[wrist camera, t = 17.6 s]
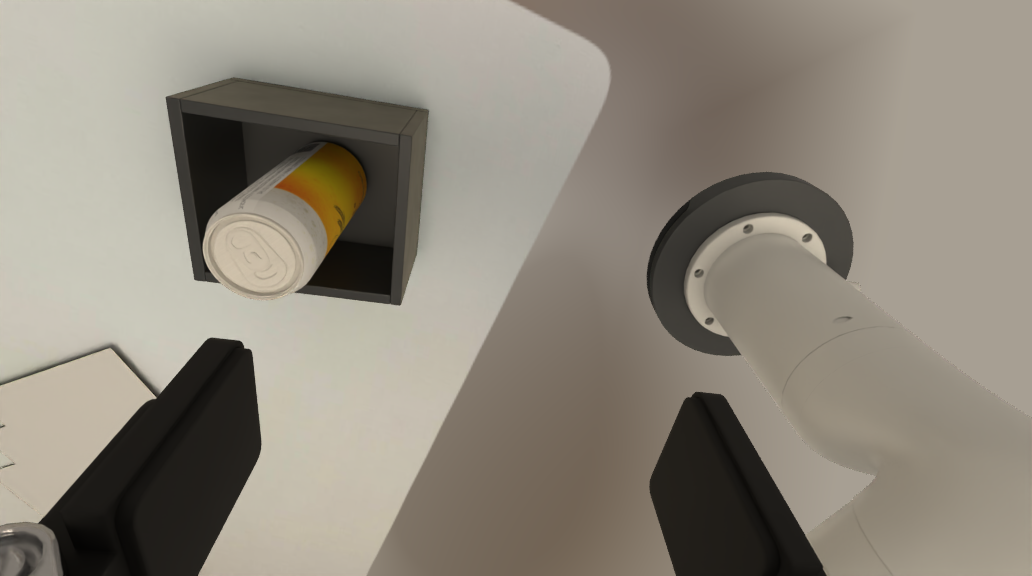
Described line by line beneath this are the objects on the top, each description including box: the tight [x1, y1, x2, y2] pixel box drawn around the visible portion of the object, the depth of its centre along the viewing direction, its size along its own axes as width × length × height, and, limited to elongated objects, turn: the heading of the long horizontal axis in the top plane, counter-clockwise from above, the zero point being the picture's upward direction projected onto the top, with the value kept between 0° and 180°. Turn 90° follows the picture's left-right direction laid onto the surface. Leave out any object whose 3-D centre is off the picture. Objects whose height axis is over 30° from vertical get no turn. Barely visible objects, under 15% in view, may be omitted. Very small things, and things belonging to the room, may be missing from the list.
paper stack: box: [0, 348, 157, 517], centre depth 56 cm, size 23×25×1 cm
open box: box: [166, 78, 429, 305], centre depth 38 cm, size 15×13×9 cm
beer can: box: [203, 142, 367, 300], centre depth 34 cm, size 6×6×15 cm
